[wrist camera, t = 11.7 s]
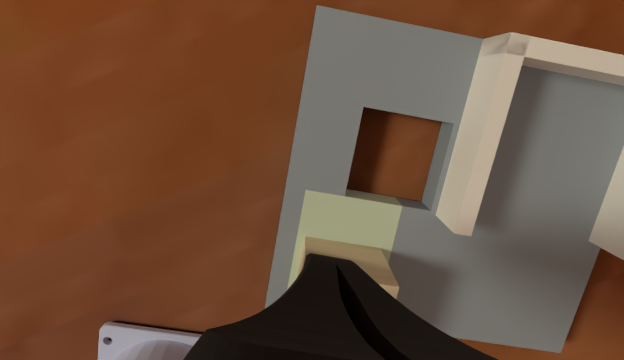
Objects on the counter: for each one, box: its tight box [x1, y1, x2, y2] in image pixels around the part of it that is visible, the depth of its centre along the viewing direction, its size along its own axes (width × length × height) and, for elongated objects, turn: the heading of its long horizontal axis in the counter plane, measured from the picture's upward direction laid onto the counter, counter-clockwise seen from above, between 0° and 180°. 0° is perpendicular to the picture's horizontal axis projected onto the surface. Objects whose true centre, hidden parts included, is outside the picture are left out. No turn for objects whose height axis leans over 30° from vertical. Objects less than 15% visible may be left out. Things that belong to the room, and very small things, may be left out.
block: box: [297, 236, 399, 299], centre depth 19 cm, size 4×4×4 cm
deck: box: [265, 5, 624, 353], centre depth 21 cm, size 16×17×2 cm
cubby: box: [436, 32, 624, 260], centre depth 18 cm, size 9×9×2 cm
